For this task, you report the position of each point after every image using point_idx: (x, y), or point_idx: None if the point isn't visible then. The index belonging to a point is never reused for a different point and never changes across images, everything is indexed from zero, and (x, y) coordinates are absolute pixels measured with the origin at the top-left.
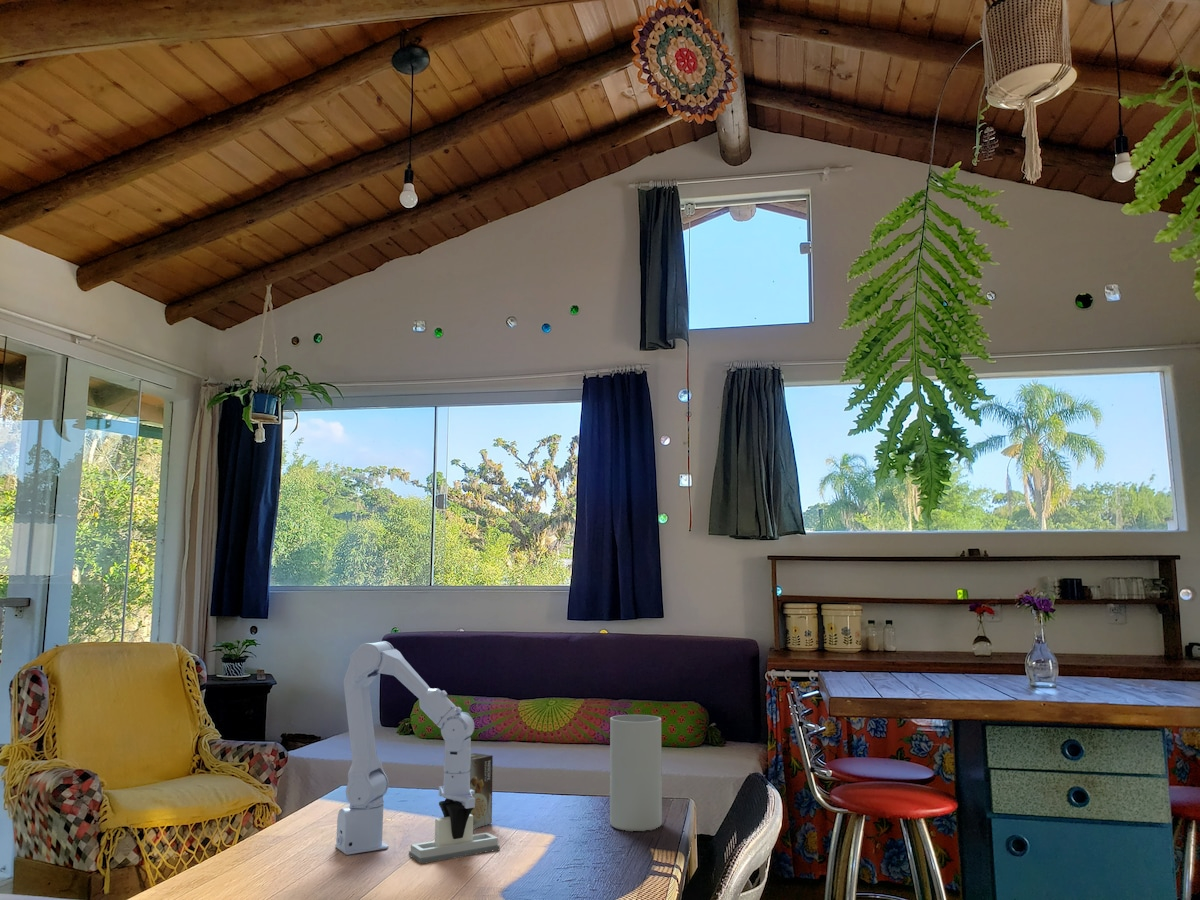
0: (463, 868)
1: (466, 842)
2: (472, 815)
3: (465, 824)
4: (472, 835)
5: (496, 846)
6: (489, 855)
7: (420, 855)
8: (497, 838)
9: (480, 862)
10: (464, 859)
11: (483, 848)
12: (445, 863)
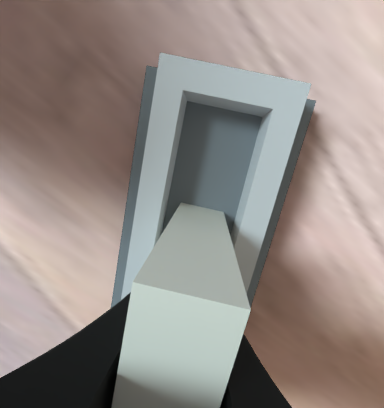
0: (369, 363)
1: (242, 274)
2: (240, 315)
3: (257, 363)
4: (227, 230)
5: (307, 118)
6: (330, 196)
7: None
8: (308, 87)
9: (371, 282)
10: (287, 298)
11: (282, 191)
12: (271, 366)
